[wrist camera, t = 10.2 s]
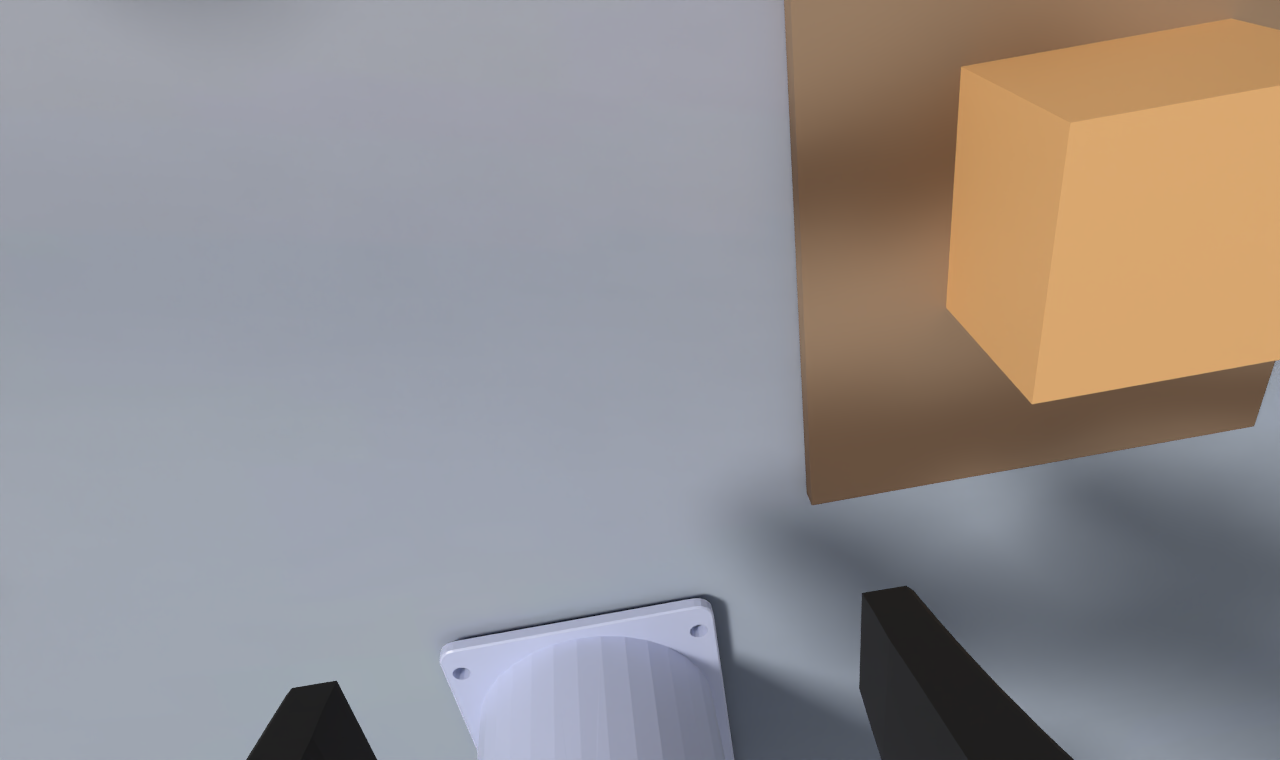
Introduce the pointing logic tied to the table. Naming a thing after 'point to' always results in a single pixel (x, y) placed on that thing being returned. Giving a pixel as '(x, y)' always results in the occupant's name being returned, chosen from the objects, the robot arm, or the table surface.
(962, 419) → the post board
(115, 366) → the table surface
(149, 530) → the table surface
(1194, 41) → the cardboard-colored cube
